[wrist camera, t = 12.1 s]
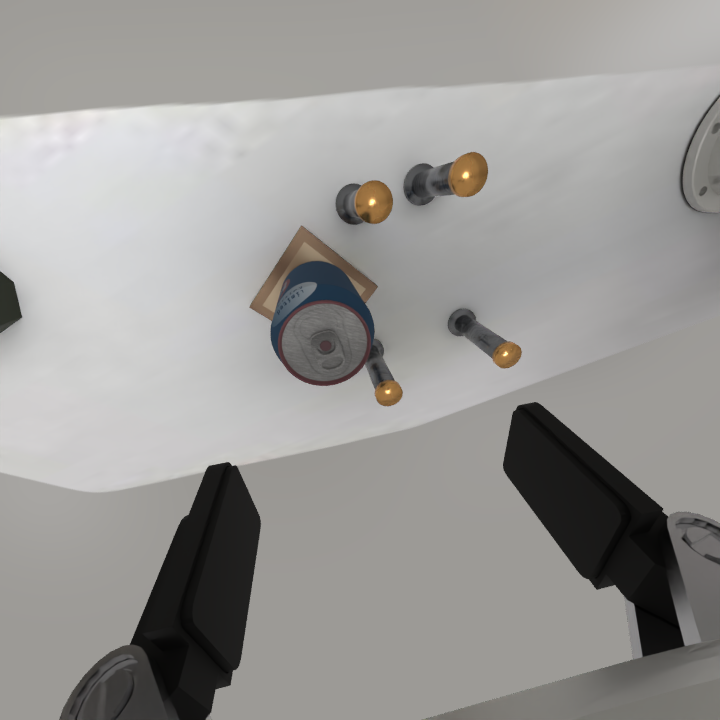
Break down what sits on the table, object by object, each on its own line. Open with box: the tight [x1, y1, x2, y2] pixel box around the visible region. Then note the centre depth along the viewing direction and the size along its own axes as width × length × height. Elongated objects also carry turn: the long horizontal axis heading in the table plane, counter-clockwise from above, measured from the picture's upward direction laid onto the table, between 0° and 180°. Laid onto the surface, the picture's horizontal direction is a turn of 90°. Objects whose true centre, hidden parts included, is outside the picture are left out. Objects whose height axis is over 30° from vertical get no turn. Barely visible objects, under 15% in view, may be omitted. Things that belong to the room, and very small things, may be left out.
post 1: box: [336, 181, 393, 224], centre depth 22 cm, size 3×3×9 cm
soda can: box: [271, 261, 374, 386], centre depth 23 cm, size 7×7×12 cm
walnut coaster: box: [250, 226, 378, 321], centre depth 29 cm, size 9×9×1 cm
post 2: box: [365, 339, 403, 406], centre depth 29 cm, size 3×3×9 cm
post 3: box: [404, 152, 488, 205], centre depth 22 cm, size 3×3×9 cm
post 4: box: [448, 309, 522, 368], centre depth 30 cm, size 3×3×9 cm
